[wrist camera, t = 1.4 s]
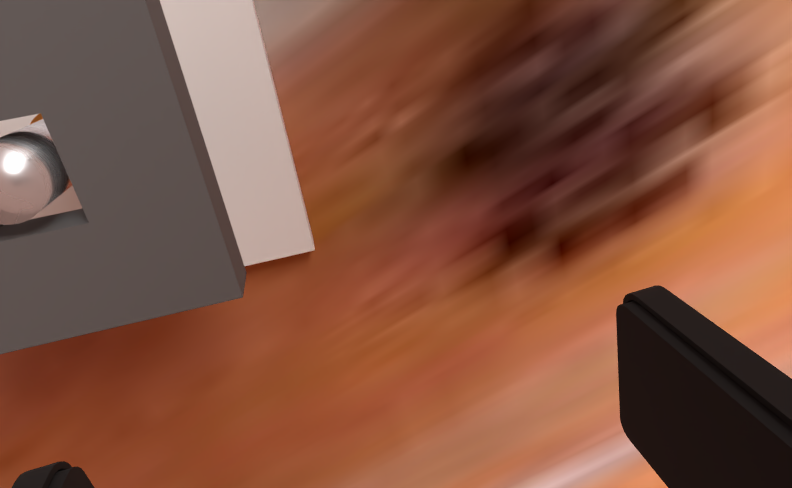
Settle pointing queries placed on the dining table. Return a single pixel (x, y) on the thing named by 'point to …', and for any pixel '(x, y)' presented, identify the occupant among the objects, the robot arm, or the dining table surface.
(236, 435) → the dining table surface
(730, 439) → the robot arm
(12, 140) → the glossy pinkish cylinder
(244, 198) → the stand plate
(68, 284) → the square hole plate
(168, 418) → the dining table surface
